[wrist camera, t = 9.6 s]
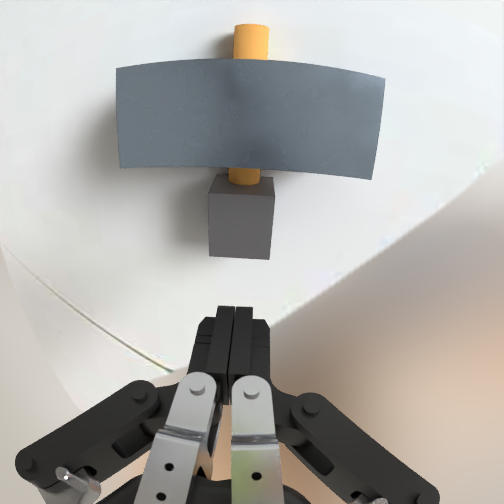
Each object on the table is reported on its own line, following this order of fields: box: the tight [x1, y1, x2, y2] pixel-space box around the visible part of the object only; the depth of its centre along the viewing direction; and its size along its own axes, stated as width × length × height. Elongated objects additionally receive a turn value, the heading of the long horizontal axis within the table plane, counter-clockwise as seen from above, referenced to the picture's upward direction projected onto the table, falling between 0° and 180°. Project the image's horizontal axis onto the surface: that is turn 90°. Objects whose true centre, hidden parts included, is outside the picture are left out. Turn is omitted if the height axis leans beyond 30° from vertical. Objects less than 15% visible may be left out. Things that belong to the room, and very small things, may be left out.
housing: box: [116, 59, 385, 180], centre depth 17 cm, size 14×6×8 cm, turn 87°
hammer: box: [208, 24, 275, 260], centre depth 19 cm, size 4×17×4 cm, turn 177°
